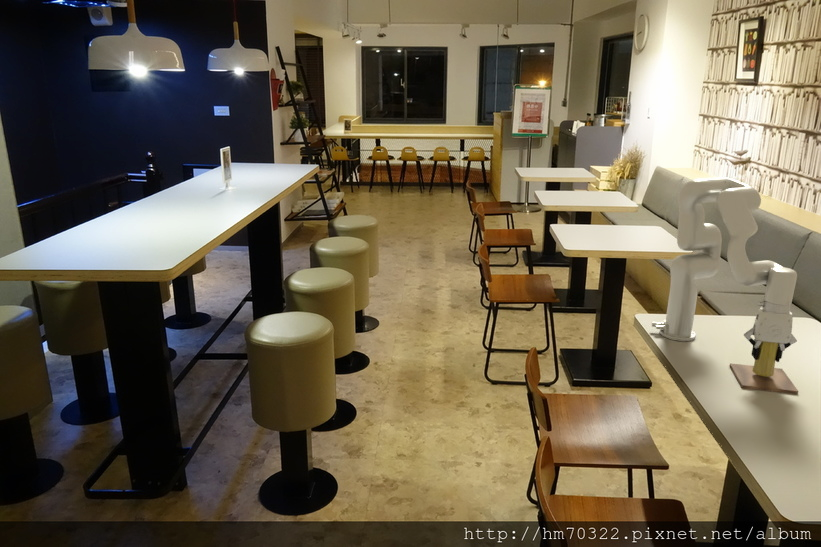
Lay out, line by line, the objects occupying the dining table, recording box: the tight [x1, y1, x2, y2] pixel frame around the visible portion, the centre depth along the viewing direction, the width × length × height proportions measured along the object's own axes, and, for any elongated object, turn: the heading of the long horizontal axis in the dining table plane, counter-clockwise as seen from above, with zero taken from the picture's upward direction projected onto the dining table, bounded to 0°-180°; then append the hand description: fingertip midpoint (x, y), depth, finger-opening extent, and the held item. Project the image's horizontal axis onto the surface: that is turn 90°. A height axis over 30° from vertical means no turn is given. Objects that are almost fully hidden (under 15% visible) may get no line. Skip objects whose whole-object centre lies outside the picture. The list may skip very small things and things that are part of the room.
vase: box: [752, 342, 779, 377], centre depth 201 cm, size 6×6×14 cm
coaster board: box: [729, 362, 799, 395], centre depth 203 cm, size 16×16×1 cm
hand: (765, 358), depth 201 cm, fingers closed on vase, 5 cm apart
